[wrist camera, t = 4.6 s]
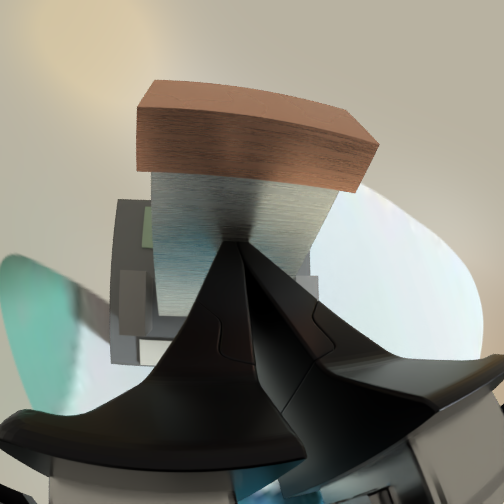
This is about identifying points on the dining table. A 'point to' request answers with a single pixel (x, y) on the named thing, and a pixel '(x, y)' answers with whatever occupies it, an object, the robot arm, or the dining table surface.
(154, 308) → the breaker housing
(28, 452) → the robot arm
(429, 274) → the dining table surface
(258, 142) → the toggle lever
